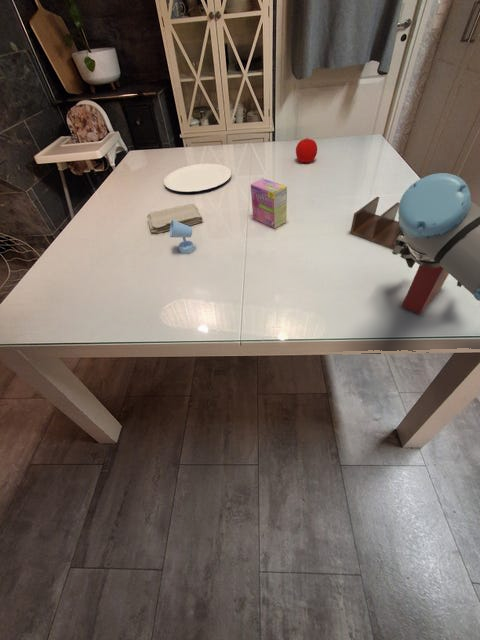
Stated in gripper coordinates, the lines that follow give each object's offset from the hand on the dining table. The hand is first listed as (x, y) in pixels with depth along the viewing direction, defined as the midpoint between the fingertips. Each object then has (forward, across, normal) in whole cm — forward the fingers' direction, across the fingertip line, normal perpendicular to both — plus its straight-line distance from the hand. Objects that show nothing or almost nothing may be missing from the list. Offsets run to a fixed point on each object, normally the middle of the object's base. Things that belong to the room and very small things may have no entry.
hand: (436, 271), depth 66 cm
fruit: (+40, -74, +32) cm, 90 cm away
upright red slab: (+2, 0, -6) cm, 7 cm away
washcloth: (-8, -78, -17) cm, 81 cm away
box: (+6, -52, -3) cm, 53 cm away
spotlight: (-14, -61, -23) cm, 67 cm away
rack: (+17, -18, +8) cm, 26 cm away
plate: (+11, -100, +3) cm, 100 cm away
